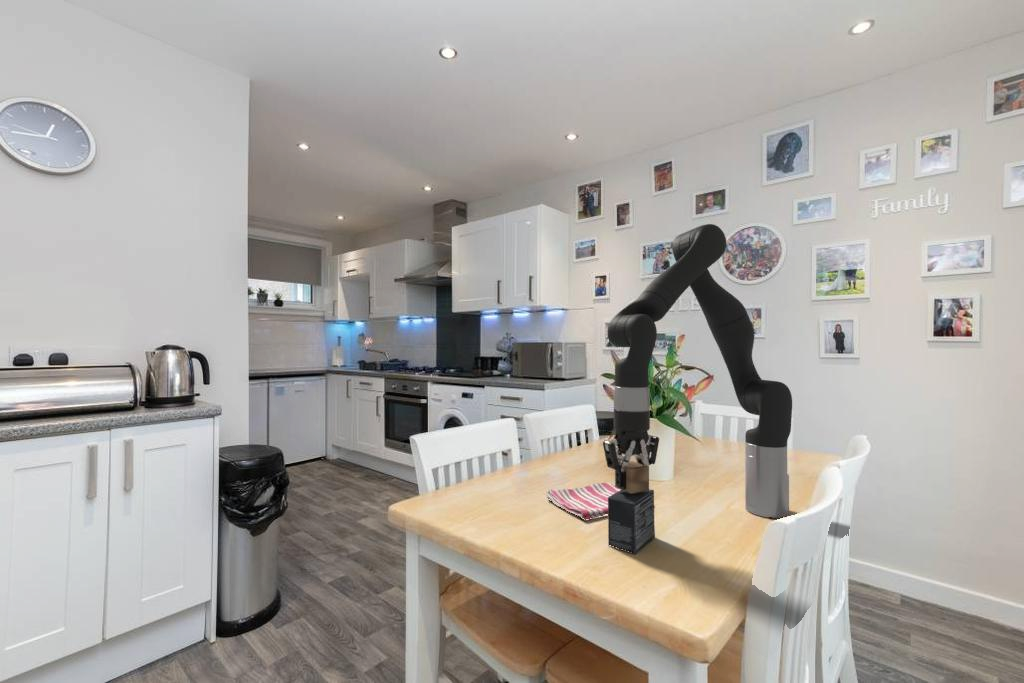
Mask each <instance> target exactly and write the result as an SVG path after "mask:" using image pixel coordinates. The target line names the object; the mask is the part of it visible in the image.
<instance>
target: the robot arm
mask: <svg viewBox="0 0 1024 683" xmlns="http://www.w3.org/2000/svg"><path fill="white" fill-rule="evenodd" d="M671 249H672V250H671V251H672V254H673V258H674V260H675V262H674V263H673V264H672V265H670V266H669V267H668V268H666V269H665V270H664V271H663V272H661V273H660V274H658V276H656V277H655V278H654V279H653V280H652V281H650V283H649V284H648V285H647V286H646V288H645V289H644V290H643V291H642V293H641V294H640V295H639V296H638V297H637V298H636V299H635V300H634V301H632V302H631V303H629V304H628V305H627V306H624V307H623V309H622V310H619V311H618V312H617V313H616V314H615V315H614V316H613V318H612V319H611V320H610V321H609V324H608V327H607V338H608V341H609V342H610V343H611V344H612V345H614V346H615V347H619V348H629V349H628V353H627V356H626V357H625V358H624V357H623V358H621V359H618V360H617V361H616V363H615V365H614V391H613V428H614V431H615V434H614V436H613V437H614V438H612V439H611V440H603V442H602V446H603V452H604V457H605V460H606V461H605V462H606V466H607V468H610V469H613V470H614V472H615V471H616V485H617V487H618V488H620V489H622V490H623V489H626V472H625V470H626V467H627V463H628V462H630V461H631V458H632V457H634V458H635V462H637V463H640V464H643V465H646V466H649V467H650V466H651V465H655V464H656V462H657V460H656V459H657V455H658V448H659V443H660V438H659V437H658V436H655V435H650V434H649V433H648V431H649V430H650V428H651V419H650V418H651V415H650V414H651V407H650V406H651V396H650V390H649V389H650V388H649V387H650V386H649V385H650V384H649V380H650V379H649V376H650V375H649V367H650V363H651V360H652V357H653V353H654V349H655V345H656V342H657V333H658V330H657V325H656V323H655V322H659V321H660V320H662V319H663V318H665V317H666V315H667V313H668V312H669V311H670V310H671V308H672V307H673V305H675V304H676V303H677V301H678V299H679V298H680V297H681V296H682V295H683V293H685V291H686V290H687V289H688V288H689V287H690V289H691V291H692V294H694V296H695V299H696V301H697V303H698V305H699V307H700V310H701V311H702V314H703V315H704V317H705V320H706V323H707V325H708V327H709V330H710V332H711V334H712V337H713V339H714V341H715V342H716V345H717V346H718V350H719V351H720V354H721V356H722V359H723V361H724V363H725V365H726V368H727V370H728V373H729V376H730V380H731V382H732V385H733V388H734V393H735V395H736V397H737V401H738V403H739V405H740V406H741V407H742V409H743V410H744V411H745V412H746V413H749V414H751V415H755V416H758V424H757V426H756V427H754V428H749V429H746V431H745V434H744V435H745V436H744V437H745V439H744V440H745V443H744V445H745V447H744V448H745V451H744V452H745V454H744V455H745V458H744V461H745V462H744V464H745V480H744V481H745V483H744V484H745V497H744V498H745V509H746V511H748V512H749V513H751V514H753V515H756V516H759V517H764V518H769V517H772V518H771V519H782V518H781V517H784V518H786V517H788V513H790V475H789V473H788V440H789V437H790V435H791V432H792V418H793V397H792V393H791V389H790V388H789V386H788V385H787V384H785V383H784V382H782V381H777V380H769V379H762V378H761V377H760V375H759V372H758V370H757V368H756V366H755V363H754V360H753V350H754V344H755V328H754V325H753V323H752V321H751V318H750V316H749V313H748V312H747V310H746V307H745V306H744V304H743V303H742V302H741V301H740V300H739V299H738V298H736V296H734V295H733V294H732V293H730V292H729V291H728V290H726V289H725V288H724V287H722V286H721V284H719V283H718V282H717V281H716V280H715V278H714V277H713V276H712V275H711V272H710V271H709V268H710V267H711V266H712V265H713V264H715V263H716V262H717V261H719V259H721V258H722V257H723V255H724V254H725V252H726V249H727V238H726V234H725V233H724V231H723V230H722V228H720V227H719V226H717V225H716V224H712V223H707V224H702V225H699V226H696V227H695V228H692V229H690V230H687V231H685V232H683V233H680V234H679V235H677V236H676V237H675V238H674V239H673V241H672V246H671ZM620 464H621V465H620ZM785 516H786V517H785Z"/></svg>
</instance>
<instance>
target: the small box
mask: <svg viewBox="0 0 1024 683" xmlns="http://www.w3.org/2000/svg"><path fill="white" fill-rule="evenodd" d="M607 526H608V529H607V530H608V535H607V536H608V539H607V540H608V544H607V545H608V546H609V545H611V546H614V547H617V548H619V549H623V550H626V551H629V552H632V553H636V554H638V553H639V552H640V551H641V550H642V549H643V548H645V547H646V544H647V543H648V542H649V543H650V542H651V541H652V540H653V539H654V538H656V529H655V528H656V527H655V491H654V489H651V488H649V490H648V491H643V492H637V493H632V494H630V493H628V492H626V491H623V490H620V491H618V492H617V493H615V494H613V495H612V496H610V497H608V516H607ZM649 543H648V544H649ZM648 544H647V545H648ZM641 548H642V549H641ZM619 549H618V550H619ZM640 549H641V550H640ZM639 550H640V551H639ZM638 551H639V552H638ZM629 552H628V553H629ZM637 552H638V553H637ZM632 553H631V554H632Z"/></svg>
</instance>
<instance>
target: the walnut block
mask: <svg viewBox="0 0 1024 683" xmlns="http://www.w3.org/2000/svg"><path fill="white" fill-rule="evenodd" d="M620 465H621V464H620ZM625 472H626V489H623V491H626V492H628V493H630V494H632V493H637V492H643V491H648V490H649V489H650V465H649V466H646V465H643V464H640V463H637V461H635V460H630V461H629V462H628V463H627V467H626V470H625ZM614 485H615V487H617V485H616V471H615V470H614ZM617 488H618V487H617ZM619 489H620V488H619ZM621 490H622V489H621Z"/></svg>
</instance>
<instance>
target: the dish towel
mask: <svg viewBox="0 0 1024 683" xmlns="http://www.w3.org/2000/svg"><path fill="white" fill-rule="evenodd" d="M620 490H621V489H619V488H617V487H615V484H613V483H610V482H596V483H593V484H589V485H586V486H583V487H582V486H581V487H575V488H572V489H571V488H570V489H569V488H564V489H555V490H553V489H552V488H551V489H548V491H547V492H546V499H547V498H548V499H550V500H551V501H552V502H554V503H556V504H557V505H559V506H560V507H562V508H564V509H565V510H568V511H569V512H570V513H569V512H568V513H569V514H571V513H573V514H575V515H574V516H576V515H577V516H576V517H578V516H579V517H578V518H580V517H582V518H584V519H585V520H586V519H590V518H595V517H599V516H603V515H605V514H608V497H610V496H612V495H613V494H615V493H617V492H618V491H620ZM548 499H547V500H548ZM576 499H577V500H578V499H579V501H576ZM571 500H575V501H571ZM552 502H551V503H552ZM565 510H564V511H565ZM573 514H572V515H573ZM582 518H581V519H582ZM585 520H584V521H585ZM590 520H591V519H590Z"/></svg>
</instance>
